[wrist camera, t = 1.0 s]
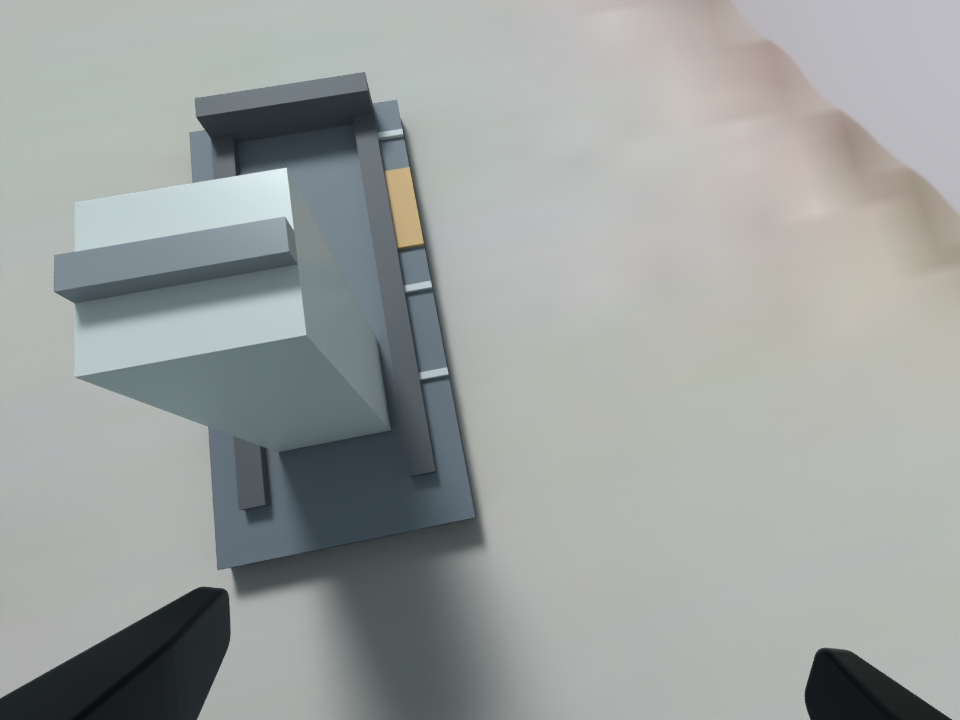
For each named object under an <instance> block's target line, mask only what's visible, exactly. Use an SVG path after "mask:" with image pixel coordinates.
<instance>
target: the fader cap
mask: <svg viewBox="0 0 960 720" xmlns="http://www.w3.org/2000/svg"><path fill="white" fill-rule="evenodd" d="M54 292H55V293H57V294H59V295H61V296H62V297H64V298H66V299H68V300H70V301H71V302H73V303H75V367H74V377H76V378H78V379H81V380H84V381H86V382H89V383H92V384H95V385H97V386H100V387H103V388H105V389H108V390H111V391H113V392H116V393H119V394H122V395H124V396H127V397H130V398H132V399H135V400H138V401H140V402H143V403H146V404H149V405H151V406H154V407H157V408H159V409H162V410H165V411H167V412H170V413H173V414H176V415H178V416H181V417H184V418H186V419H189V420H192V421H195V422H197V423H200V424H203V425H205V426H208V427H211V428H213V429H216V430H219V431H222V432H224V433H227V434H230V435H232V436H235V437H238V438H240V439H243V440H246V441H249V442H251V443H254V444H257V445H259V446H262V447H265V448H267V449H270V450H273V451H276V452H282V451H287V450H292V449H297V448H302V447H307V446H313V445H318V444H323V443H328V442H333V441H338V440H344V439H349V438H354V437H359V436H364V435H369V434H375V433H380V432H385V431H390V430H391V426H390V419H389V413H388V406H387V400H386V393H385V387H384V380H383V374H382V367H381V361H380V354H379V348H378V341H377V337H376V336H375V334H374V332H373V330H372V328H371V326H370V324H369V322H368V320H367V319H366V317H365V315H364V313H363V311H362V309H361V307H360V305H359V303H358V302H357V300H356V298H355V296H354V294H353V292H352V290H351V288H350V286H349V285H348V283H347V281H346V279H345V277H344V275H343V273H342V271H341V269H340V268H339V266H338V264H337V262H336V260H335V258H334V256H333V254H332V252H331V251H330V249H329V247H328V245H327V243H326V241H325V239H324V237H323V235H322V234H321V232H320V230H319V228H318V226H317V224H316V222H315V220H314V218H313V217H312V215H311V213H310V211H309V209H308V207H307V205H306V203H305V201H304V200H303V198H302V196H301V194H300V192H299V190H298V188H297V186H296V184H295V183H294V181H293V179H292V177H291V175H290V173H289V171H288V169H287V168H282V169H276V170H270V171H264V172H257V173H251V174H245V175H239V176H233V177H227V178H221V179H215V180H208V181H202V182H196V183H190V184H184V185H178V186H172V187H166V188H159V189H153V190H147V191H141V192H135V193H129V194H123V195H117V196H111V197H104V198H98V199H92V200H86V201H80V202H75V252H71V253H65V254H59V255H54Z"/></svg>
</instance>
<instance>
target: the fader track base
mask: <svg viewBox="0 0 960 720" xmlns="http://www.w3.org/2000/svg"><path fill="white" fill-rule="evenodd" d="M195 107H196V117H197V119H198V120H199V122H200V123H201V125H202V126H203V128H204V129H205V130H203V131H197V132H190V133H189V134H190V150H191V165H192V181H193V183H196V182H202V181H208V180H215V179H221V178H227V177H233V176H239V175H245V174H251V173H257V172H264V171H270V170H276V169H282V168H287V169H288V171H289V173H290V175H291V177H292V179H293V181H294V183H295V184H296V186H297V188H298V190H299V192H300V194H301V196H302V198H303V200H304V201H305V203H306V205H307V207H308V209H309V211H310V213H311V215H312V217H313V218H314V220H315V222H316V224H317V226H318V228H319V230H320V232H321V234H322V235H323V237H324V239H325V241H326V243H327V245H328V247H329V249H330V251H331V252H332V254H333V256H334V258H335V260H336V262H337V264H338V266H339V268H340V269H341V271H342V273H343V275H344V277H345V279H346V281H347V283H348V285H349V286H350V288H351V290H352V292H353V294H354V296H355V298H356V300H357V302H358V303H359V305H360V307H361V309H362V311H363V313H364V315H365V317H366V319H367V320H368V322H369V324H370V326H371V328H372V330H373V332H374V334H375V336H376V337H377V341H378V348H379V354H380V361H381V367H382V374H383V380H384V387H385V393H386V400H387V406H388V413H389V419H390V426H391V430H390V431H385V432H380V433H375V434H369V435H364V436H359V437H354V438H349V439H344V440H338V441H333V442H328V443H323V444H318V445H313V446H307V447H302V448H297V449H292V450H287V451H282V452H276V451H273V450H270V449H267V448H265V447H262V446H259V445H257V444H254V443H251V442H249V441H246V440H243V439H240V438H238V437H235V436H232V435H230V434H227V433H224V432H222V431H219V430H216V429H213V428H211V427H208V430H209V445H210V461H211V476H212V492H213V507H214V523H215V539H216V554H217V570H220V569H226V568H232V567H237V566H242V565H247V564H251V563H256V562H261V561H266V560H271V559H276V558H281V557H286V556H291V555H295V554H300V553H305V552H310V551H315V550H320V549H325V548H330V547H335V546H339V545H344V544H349V543H354V542H359V541H364V540H369V539H374V538H379V537H383V536H388V535H393V534H398V533H403V532H408V531H413V530H418V529H423V528H427V527H432V526H437V525H442V524H447V523H452V522H457V521H462V520H466V519H471V518H475V513H474V507H473V502H472V497H471V491H470V486H469V481H468V475H467V470H466V465H465V460H464V454H463V449H462V444H461V438H460V433H459V428H458V422H457V417H456V412H455V406H454V401H453V396H452V390H451V385H450V380H449V374H448V369H447V364H446V358H445V353H444V348H443V342H442V337H441V332H440V327H439V321H438V316H437V311H436V305H435V300H434V295H433V289H432V284H431V279H430V273H429V268H428V263H427V257H426V252H425V247H424V241H423V236H422V231H421V225H420V220H419V215H418V209H417V204H416V199H415V193H414V188H413V183H412V178H411V172H410V167H409V162H408V156H407V151H406V146H405V140H404V135H403V130H402V124H401V119H400V114H399V108H398V103H397V100H393V101H386V102H380V103H374V104H372V100H371V96H370V92H369V88H368V83H367V79H366V75H365V72H363V73H356V74H350V75H343V76H337V77H330V78H324V79H317V80H311V81H304V82H298V83H291V84H285V85H278V86H272V87H266V88H259V89H253V90H246V91H240V92H233V93H227V94H220V95H214V96H207V97H201V98H195Z"/></svg>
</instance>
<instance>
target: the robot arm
mask: <svg viewBox="0 0 960 720" xmlns="http://www.w3.org/2000/svg"><path fill="white" fill-rule="evenodd" d="M230 633H231V631H230V607H229V595H228V592H227V591H226V590H225V589H222V588H212V587H199V588H197V589H194V590H193V591H191V592H189V593H187V594H185V595H184V596H182V597H180V598H178V599H177V600H175V601H173V602H171V603H169V604H168V605H166V606H164V607H162V608H161V609H159V610H157V611H155V612H153V613H152V614H150V615H148V616H146V617H144V618H143V619H141V620H139V621H137V622H136V623H134V624H132V625H130V626H128V627H127V628H125V629H123V630H121V631H120V632H118V633H116V634H114V635H112V636H111V637H109V638H107V639H105V640H103V641H102V642H100V643H98V644H96V645H95V646H93V647H91V648H89V649H87V650H86V651H84V652H82V653H80V654H79V655H77V656H75V657H73V658H71V659H70V660H68V661H66V662H64V663H62V664H61V665H59V666H57V667H55V668H54V669H52V670H50V671H48V672H46V673H45V674H43V675H41V676H39V677H38V678H36V679H34V680H32V681H30V682H29V683H27V684H25V685H23V686H21V687H20V688H18V689H16V690H14V691H13V692H11V693H9V694H7V695H5V696H4V697H2V698H0V720H197V718H198V716H199V714H200V711H201V709H202V707H203V704H204V702H205V700H206V698H207V695H208V693H209V691H210V688H211V686H212V684H213V681H214V679H215V677H216V675H217V672H218V670H219V668H220V665H221V663H222V661H223V658H224V656H225V654H226V651H227V649H228V646H229V641H230ZM805 704H806V708H807V711H808V714H809V717H810V719H811V720H952V719H950V718H949V717H947V716H946V715H944V714H943V713H941V712H940V711H938V710H937V709H935V708H934V707H932V706H931V705H929V704H928V703H926V702H925V701H924V700H922V699H921V698H919V697H918V696H916V695H915V694H913V693H912V692H910V691H909V690H907V689H906V688H904V687H903V686H901V685H900V684H898V683H897V682H895V681H894V680H893V679H891V678H890V677H888V676H887V675H885V674H884V673H882V672H881V671H879V670H878V669H876V668H875V667H873V666H872V665H870V664H869V663H867V662H866V661H864V660H863V659H862V658H860V657H859V656H857V655H856V654H854V653H852V652H851V651H848V650H844V649H833V648H821V649H819V650H818V651H817V652H816V655H815V657H814V661H813V664H812V668H811V671H810V675H809V678H808V682H807V685H806V688H805Z"/></svg>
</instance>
